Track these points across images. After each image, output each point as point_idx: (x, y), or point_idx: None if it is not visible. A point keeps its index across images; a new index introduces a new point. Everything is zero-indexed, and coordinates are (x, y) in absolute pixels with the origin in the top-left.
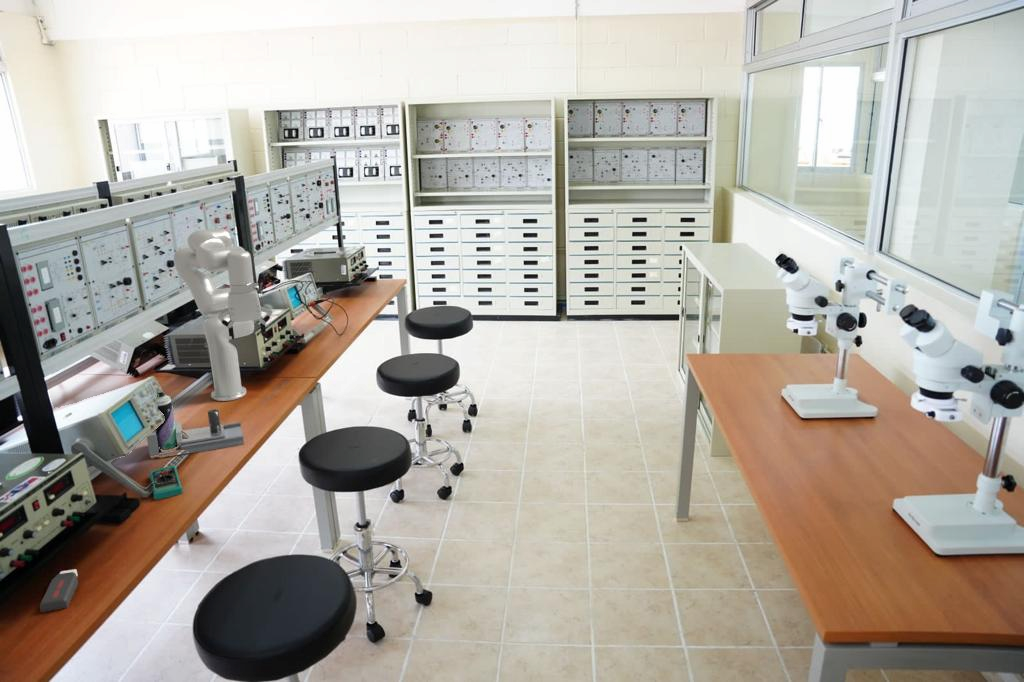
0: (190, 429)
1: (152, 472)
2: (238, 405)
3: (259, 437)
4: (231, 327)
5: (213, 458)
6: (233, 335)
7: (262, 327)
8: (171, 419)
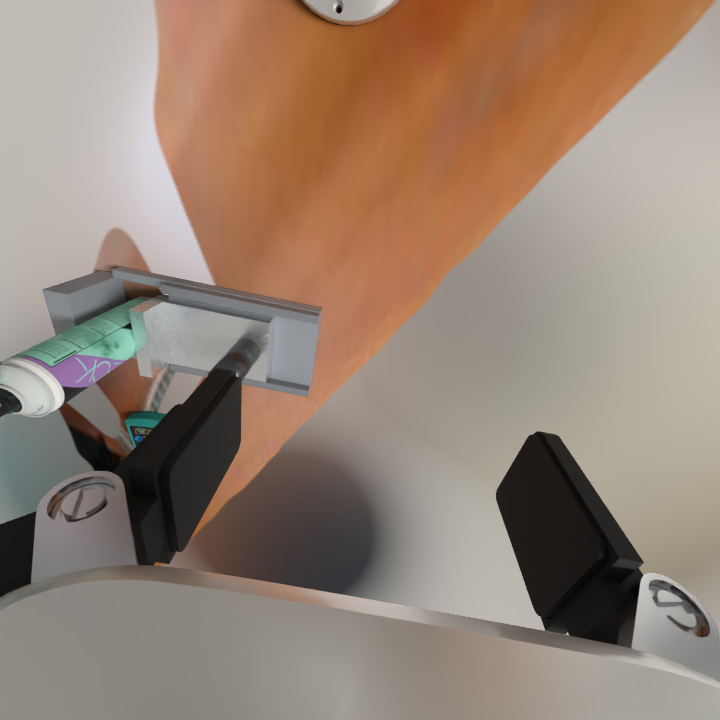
0: (183, 305)
1: (129, 426)
2: (356, 106)
3: (350, 375)
4: (154, 545)
5: (244, 407)
6: (220, 475)
7: (539, 593)
8: (107, 373)
